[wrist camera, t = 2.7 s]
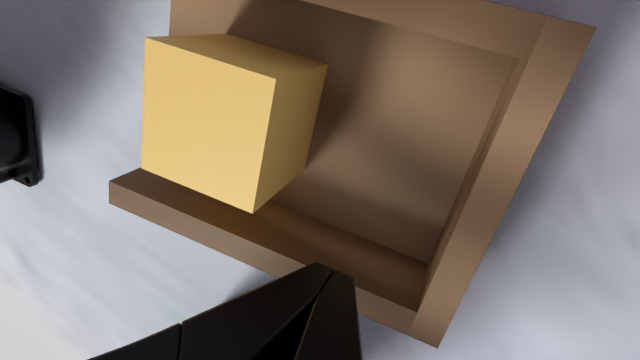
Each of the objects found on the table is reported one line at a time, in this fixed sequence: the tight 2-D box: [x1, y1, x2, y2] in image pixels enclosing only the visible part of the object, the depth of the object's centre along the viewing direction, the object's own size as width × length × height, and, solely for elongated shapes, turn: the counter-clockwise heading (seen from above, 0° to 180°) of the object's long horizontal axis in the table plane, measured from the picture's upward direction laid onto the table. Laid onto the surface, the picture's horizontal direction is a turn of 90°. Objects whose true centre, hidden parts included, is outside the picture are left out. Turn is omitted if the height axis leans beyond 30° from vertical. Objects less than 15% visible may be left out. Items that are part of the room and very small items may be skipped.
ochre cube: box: [141, 34, 328, 214], centre depth 16 cm, size 5×5×5 cm
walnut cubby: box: [109, 0, 596, 348], centre depth 17 cm, size 12×16×5 cm
